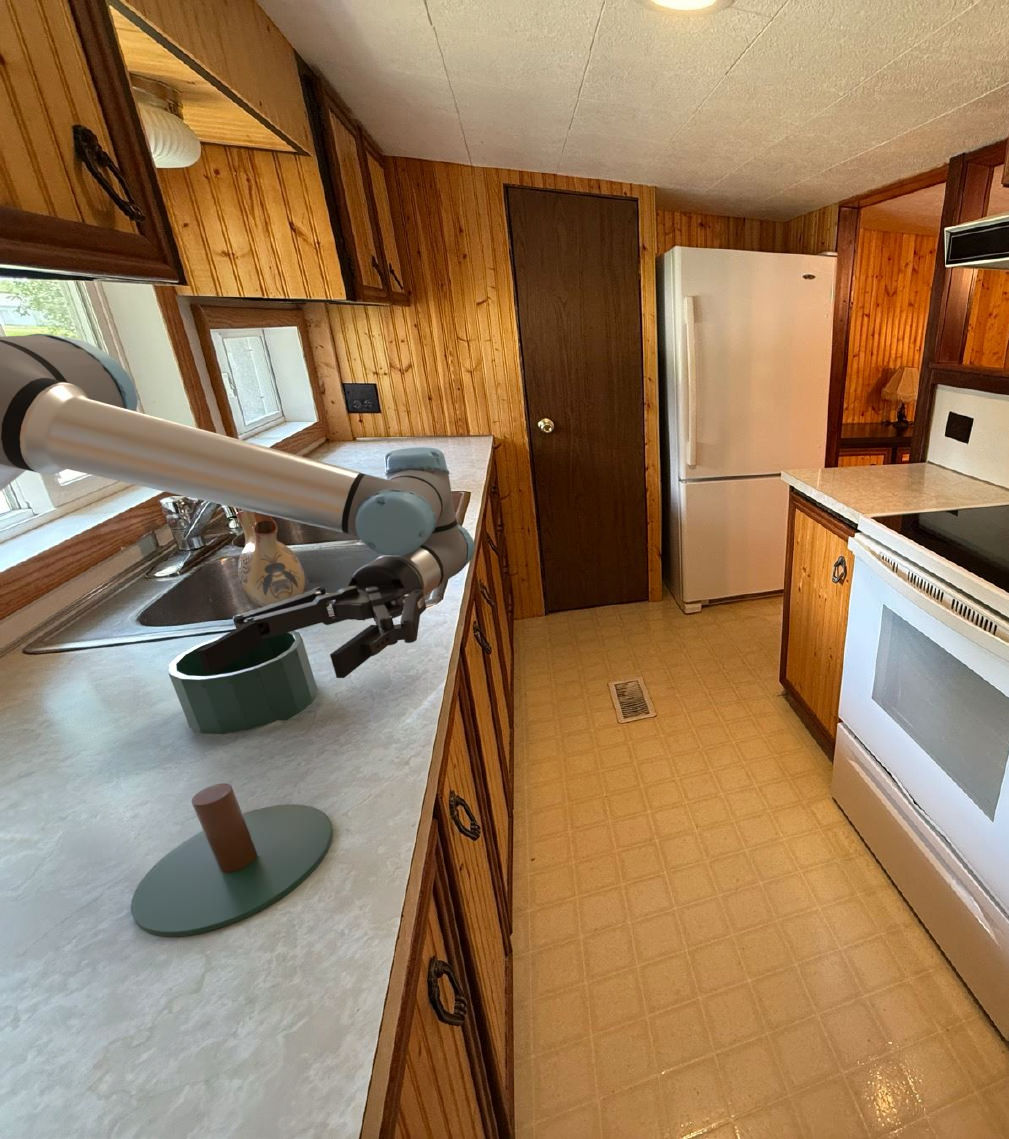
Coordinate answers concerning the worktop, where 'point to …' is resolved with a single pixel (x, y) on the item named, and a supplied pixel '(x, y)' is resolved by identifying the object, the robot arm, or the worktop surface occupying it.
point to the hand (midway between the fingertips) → (270, 664)
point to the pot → (245, 686)
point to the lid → (230, 865)
